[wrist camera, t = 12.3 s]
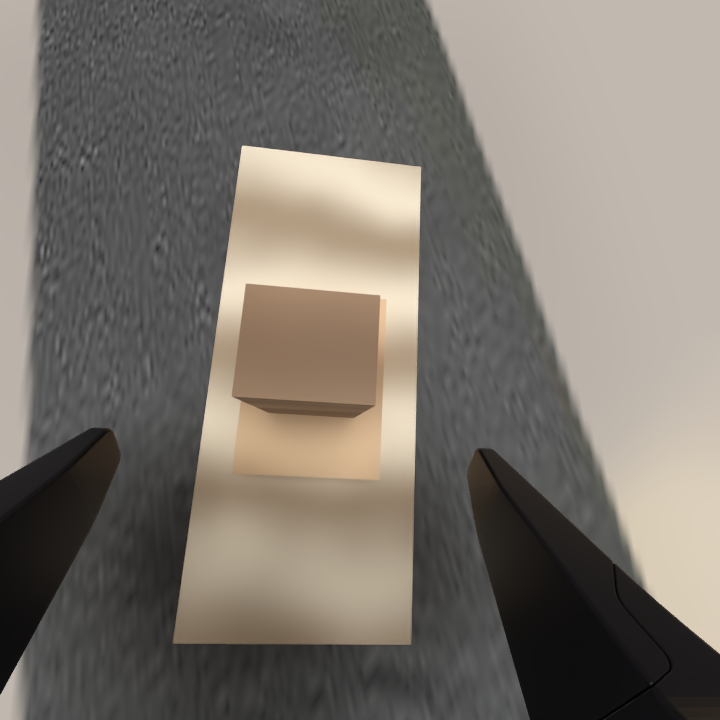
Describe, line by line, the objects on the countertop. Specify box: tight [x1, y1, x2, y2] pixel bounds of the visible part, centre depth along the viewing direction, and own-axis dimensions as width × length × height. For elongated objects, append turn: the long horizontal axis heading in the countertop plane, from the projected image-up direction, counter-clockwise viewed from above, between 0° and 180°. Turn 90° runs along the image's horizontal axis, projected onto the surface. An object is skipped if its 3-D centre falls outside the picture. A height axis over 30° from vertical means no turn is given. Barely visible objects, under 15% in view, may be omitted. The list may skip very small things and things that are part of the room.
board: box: [173, 146, 421, 645], centre depth 20 cm, size 24×10×3 cm, turn 177°
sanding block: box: [232, 284, 387, 480], centre depth 14 cm, size 8×6×8 cm
